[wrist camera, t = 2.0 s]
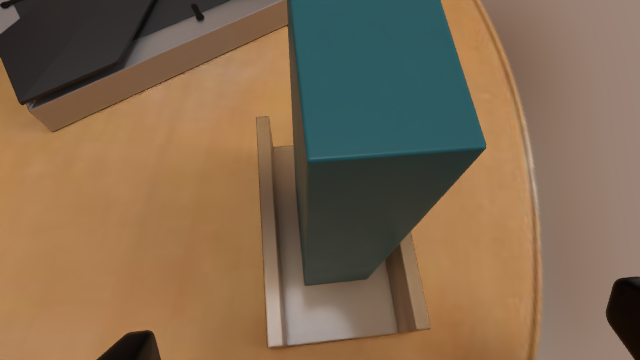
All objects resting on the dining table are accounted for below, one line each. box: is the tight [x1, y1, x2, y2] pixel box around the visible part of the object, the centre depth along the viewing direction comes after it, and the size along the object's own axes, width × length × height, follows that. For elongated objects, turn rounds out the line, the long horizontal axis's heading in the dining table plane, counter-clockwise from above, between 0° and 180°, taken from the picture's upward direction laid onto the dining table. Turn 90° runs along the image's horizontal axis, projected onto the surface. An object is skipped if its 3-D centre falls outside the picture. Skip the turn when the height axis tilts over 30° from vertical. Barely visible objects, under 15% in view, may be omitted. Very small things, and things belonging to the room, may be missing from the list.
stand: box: [256, 116, 431, 349], centre depth 18 cm, size 10×7×4 cm, turn 6°
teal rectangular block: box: [287, 0, 486, 286], centre depth 13 cm, size 5×3×13 cm, turn 6°
